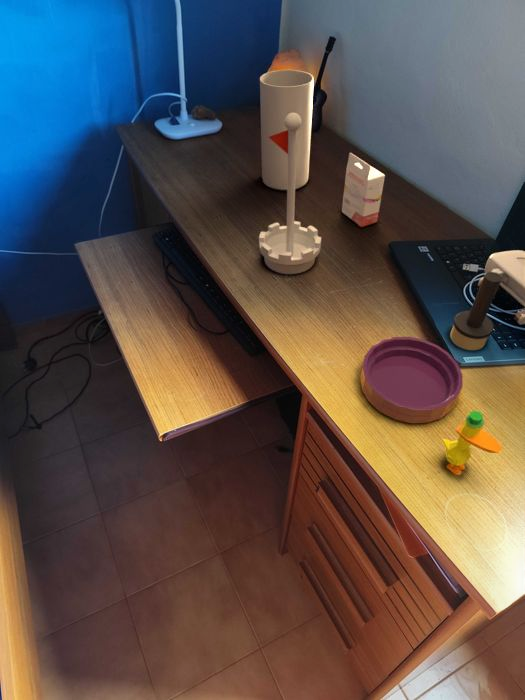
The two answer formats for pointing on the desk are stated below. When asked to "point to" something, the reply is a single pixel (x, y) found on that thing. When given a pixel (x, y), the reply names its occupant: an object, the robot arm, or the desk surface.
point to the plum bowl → (410, 379)
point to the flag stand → (289, 218)
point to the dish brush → (476, 316)
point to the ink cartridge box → (362, 191)
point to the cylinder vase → (276, 103)
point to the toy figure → (469, 442)
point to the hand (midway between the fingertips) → (498, 300)
